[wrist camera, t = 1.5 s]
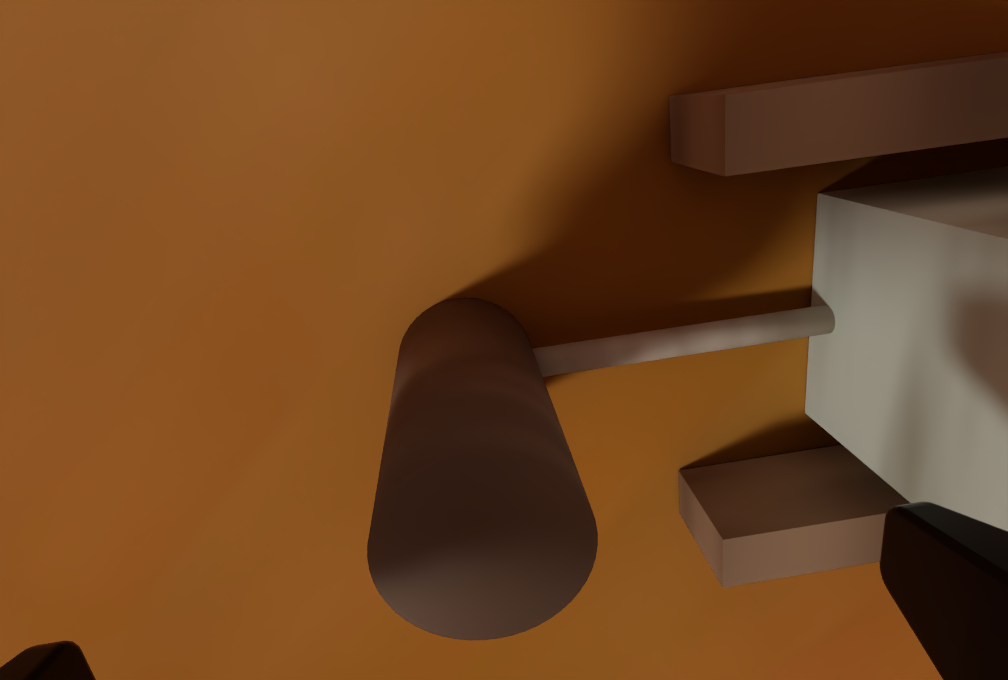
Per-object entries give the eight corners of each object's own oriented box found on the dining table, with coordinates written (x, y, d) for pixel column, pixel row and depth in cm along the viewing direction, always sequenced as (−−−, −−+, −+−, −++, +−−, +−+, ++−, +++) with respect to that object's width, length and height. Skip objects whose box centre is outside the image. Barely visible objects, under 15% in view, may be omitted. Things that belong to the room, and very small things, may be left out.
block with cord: (1053, 160, 13) (1521, 203, 7) (1012, 379, 15) (1362, 550, 9) (376, 255, 12) (322, 384, 7) (419, 473, 14) (406, 717, 9)
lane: (1186, 27, 12) (1362, 9, 10) (1083, 448, 16) (1195, 508, 13) (669, 96, 12) (725, 94, 9) (679, 513, 15) (723, 587, 13)
